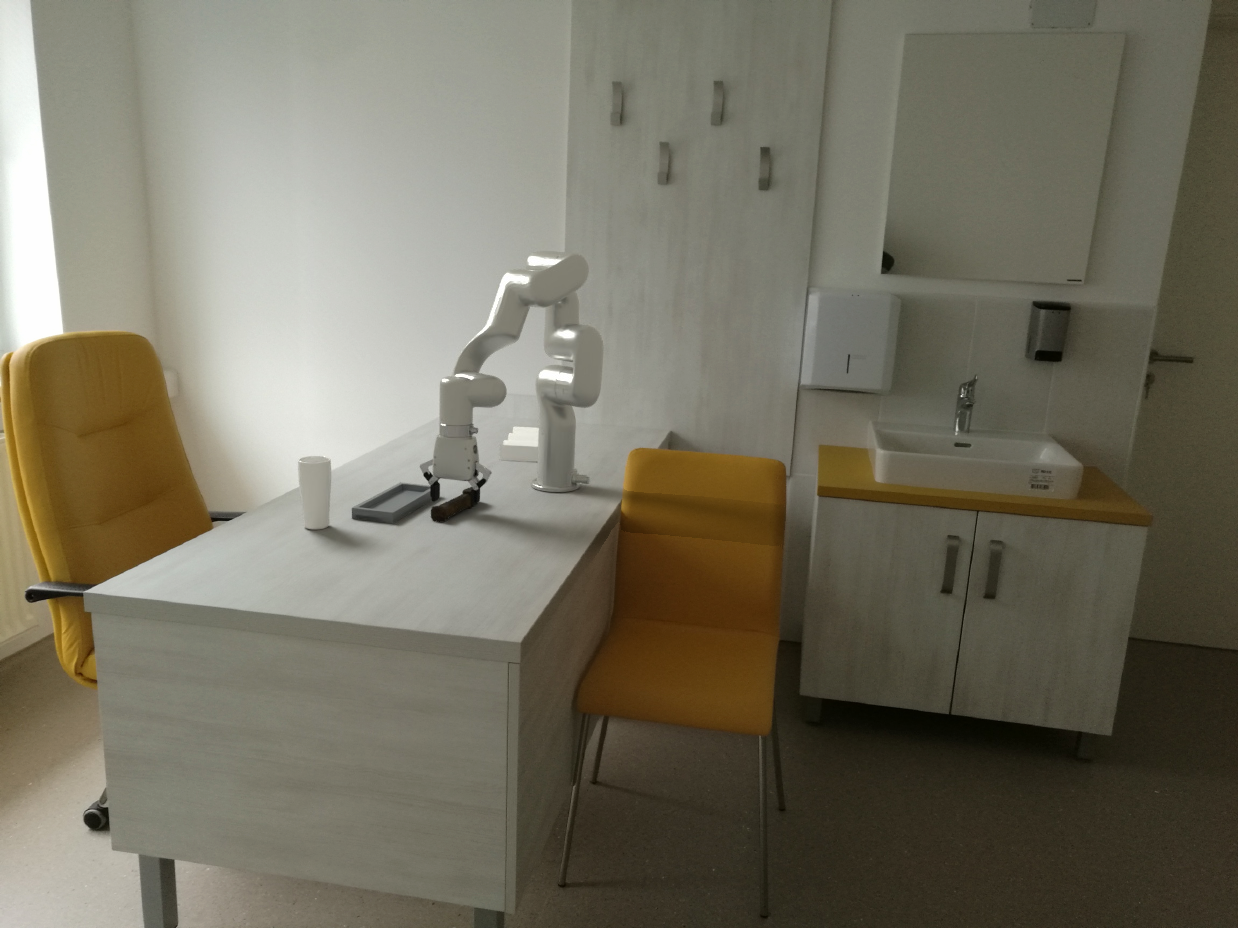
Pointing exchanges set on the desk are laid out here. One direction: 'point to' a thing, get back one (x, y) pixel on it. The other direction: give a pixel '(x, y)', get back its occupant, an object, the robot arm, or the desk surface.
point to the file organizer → (520, 445)
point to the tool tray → (393, 503)
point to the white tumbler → (315, 490)
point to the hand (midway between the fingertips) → (455, 502)
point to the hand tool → (452, 506)
